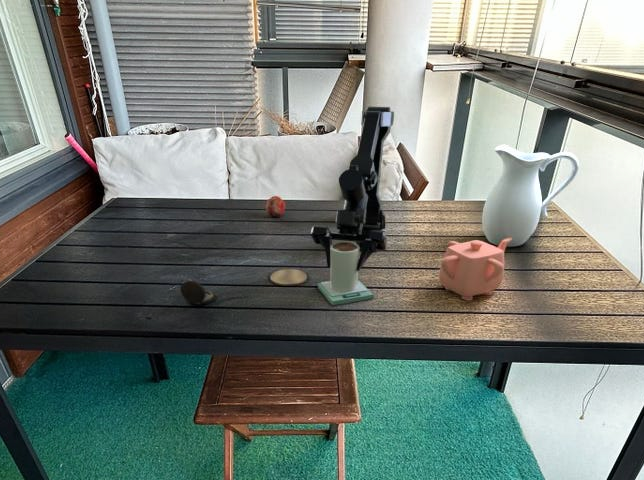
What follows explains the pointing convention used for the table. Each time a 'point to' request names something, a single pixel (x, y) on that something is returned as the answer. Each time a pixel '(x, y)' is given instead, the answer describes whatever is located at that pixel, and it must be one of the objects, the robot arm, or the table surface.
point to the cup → (344, 266)
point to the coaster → (288, 277)
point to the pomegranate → (275, 206)
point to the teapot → (473, 267)
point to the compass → (196, 293)
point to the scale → (344, 294)
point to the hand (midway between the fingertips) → (342, 269)
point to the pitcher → (519, 195)
